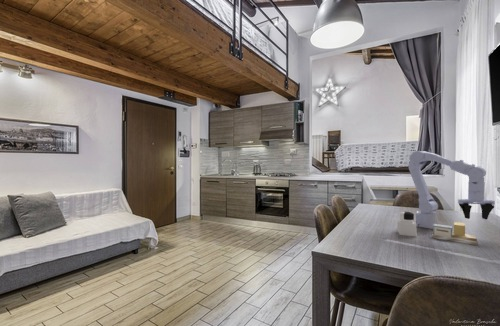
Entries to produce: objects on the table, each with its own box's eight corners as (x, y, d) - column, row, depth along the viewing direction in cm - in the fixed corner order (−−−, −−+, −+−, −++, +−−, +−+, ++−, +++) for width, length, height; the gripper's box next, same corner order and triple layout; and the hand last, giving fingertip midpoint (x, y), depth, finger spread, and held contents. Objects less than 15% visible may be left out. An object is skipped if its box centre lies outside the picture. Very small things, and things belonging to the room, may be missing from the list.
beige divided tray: (431, 239, 112) (431, 234, 112) (434, 231, 126) (434, 227, 126) (477, 247, 102) (477, 242, 102) (475, 237, 115) (475, 233, 115)
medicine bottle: (413, 234, 120) (413, 211, 120) (416, 238, 114) (416, 214, 114) (397, 232, 123) (397, 210, 123) (399, 236, 117) (399, 212, 117)
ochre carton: (465, 237, 112) (465, 226, 112) (453, 235, 115) (453, 224, 115) (465, 234, 117) (465, 223, 117) (454, 232, 120) (454, 221, 120)
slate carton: (433, 236, 113) (433, 225, 113) (433, 234, 116) (433, 223, 116) (452, 239, 109) (452, 228, 109) (452, 237, 112) (452, 226, 112)
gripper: (465, 192, 111) (465, 220, 111) (500, 192, 109) (500, 221, 109) (455, 190, 118) (454, 216, 118) (487, 190, 116) (487, 217, 116)
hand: (475, 218), depth 114 cm, fingers open, 7 cm apart
